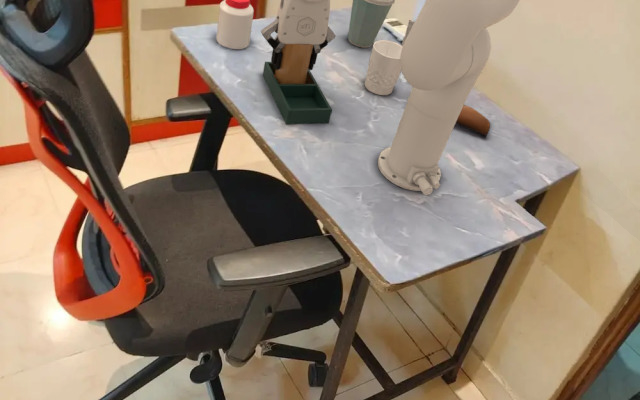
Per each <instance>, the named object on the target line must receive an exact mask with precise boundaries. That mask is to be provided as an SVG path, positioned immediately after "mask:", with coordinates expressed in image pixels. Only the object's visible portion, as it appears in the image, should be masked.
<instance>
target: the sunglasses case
mask: <svg viewBox="0 0 640 400" xmlns="http://www.w3.org/2000/svg"><path fill="white" fill-rule="evenodd" d="M455 125H459V126H461V127H463V128H466V129H469V130H471V131H474V132H475V133H476V132H477V133H478V134H481V135H482V136H483V135H484V136H485V137H488V134H489V132H490V130H491V129H490V128H491V122H490V121H489V119H488V118H487V117H486V116H484V115H483V114H482V113H480V112H479V111H478V110H476V109H475V108H472V107H471V106H469V105H466V104H464V106H463V108H462V110H461V112H460V114H459V116H458V119H457V121H456V123H455Z"/></svg>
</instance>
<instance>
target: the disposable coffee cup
mask: <svg viewBox="0 0 640 400" xmlns="http://www.w3.org/2000/svg"><path fill="white" fill-rule="evenodd" d="M395 1H396V0H352V4H351V10H350V11H351V12H350V17H349V18H350V19H349V26H348V33H347V38H348V40H347V41H348V42H349V43H351V44H352V45H353V46H355V47H358V48H363V49H364V48H367V49H368V48H370V47H371V46H373V44H374V43H375V40H376V38H377V36H378V35H379V32H380V31H381V28H382V26H383V24H384V22H385V20H386V18H387V16H388V14H389V12H390V10H391V8H392V6H393V5H394V4H395Z"/></svg>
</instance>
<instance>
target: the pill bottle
mask: <svg viewBox="0 0 640 400" xmlns="http://www.w3.org/2000/svg"><path fill="white" fill-rule="evenodd" d="M218 8H219V9H218V16H217V17H218V19H217V28H216V41H217V43H218V44H219V45H220V46H222V47H225V48H226V49H231V50H243V49H246V48H247V47H249V45H250V43H251V42H250V41H251V35H252V27H253V20H254V13H255V10H254V7H253V6H252V4H251V0H222V1H221V2H220V3H219V7H218Z"/></svg>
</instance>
